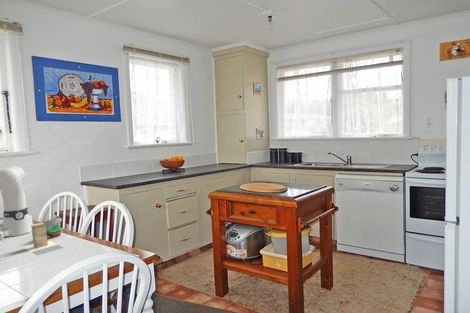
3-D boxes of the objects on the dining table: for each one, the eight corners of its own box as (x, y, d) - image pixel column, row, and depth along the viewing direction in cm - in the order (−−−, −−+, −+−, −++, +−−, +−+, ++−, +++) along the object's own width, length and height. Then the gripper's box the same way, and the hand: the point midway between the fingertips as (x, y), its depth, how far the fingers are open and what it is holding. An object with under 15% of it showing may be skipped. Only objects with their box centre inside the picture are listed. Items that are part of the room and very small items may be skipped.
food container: (52, 240, 181) (50, 222, 180) (42, 240, 182) (40, 222, 181) (68, 233, 193) (66, 215, 192) (58, 233, 194) (56, 215, 193)
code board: (24, 248, 171) (24, 247, 171) (49, 241, 180) (49, 240, 180) (37, 255, 158) (37, 255, 158) (64, 248, 167) (64, 247, 167)
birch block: (33, 246, 172) (31, 225, 171) (44, 243, 175) (42, 222, 174) (37, 248, 168) (34, 226, 167) (47, 245, 172) (45, 224, 171)
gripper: (-31, 241, 159) (4, 232, 169) (-21, 249, 145) (16, 240, 155) (-32, 227, 158) (2, 220, 168) (-23, 234, 144) (15, 226, 154)
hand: (9, 229), depth 162 cm, fingers open, 8 cm apart
